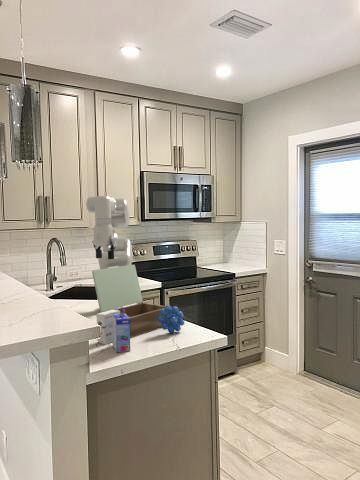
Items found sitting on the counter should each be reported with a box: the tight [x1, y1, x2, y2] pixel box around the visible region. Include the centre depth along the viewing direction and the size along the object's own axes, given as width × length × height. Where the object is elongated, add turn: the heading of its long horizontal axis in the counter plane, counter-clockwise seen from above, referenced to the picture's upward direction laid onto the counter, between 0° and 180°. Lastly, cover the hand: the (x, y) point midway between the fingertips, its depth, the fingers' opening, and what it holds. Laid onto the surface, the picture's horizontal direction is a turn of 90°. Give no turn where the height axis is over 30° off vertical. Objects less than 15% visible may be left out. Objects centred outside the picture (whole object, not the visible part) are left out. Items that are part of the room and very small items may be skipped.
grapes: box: [158, 304, 185, 334], centre depth 164 cm, size 12×7×12 cm, turn 113°
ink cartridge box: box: [112, 309, 131, 353], centre depth 147 cm, size 10×6×14 cm, turn 17°
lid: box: [91, 264, 144, 313], centre depth 183 cm, size 19×25×2 cm
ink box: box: [96, 310, 120, 345], centre depth 156 cm, size 9×5×12 cm, turn 141°
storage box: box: [115, 302, 166, 339], centre depth 175 cm, size 18×24×8 cm
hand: (105, 258), depth 188 cm, fingers open, 8 cm apart
